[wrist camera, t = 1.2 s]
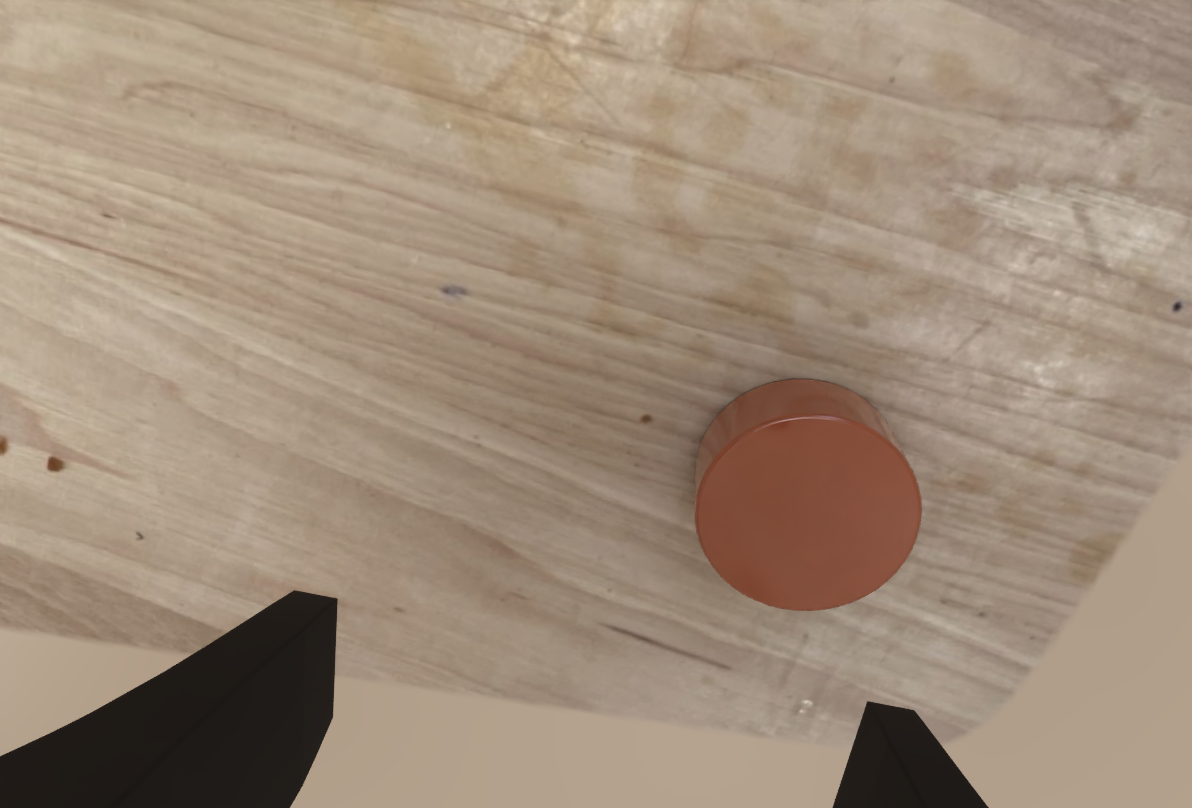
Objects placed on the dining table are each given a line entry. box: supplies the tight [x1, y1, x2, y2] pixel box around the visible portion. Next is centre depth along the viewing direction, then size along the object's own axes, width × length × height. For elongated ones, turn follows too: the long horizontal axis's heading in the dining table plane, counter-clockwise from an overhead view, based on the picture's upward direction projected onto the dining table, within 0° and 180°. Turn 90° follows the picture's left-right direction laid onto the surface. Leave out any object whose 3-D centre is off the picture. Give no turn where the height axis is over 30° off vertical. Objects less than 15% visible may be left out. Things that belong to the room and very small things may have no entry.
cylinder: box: [695, 379, 922, 611], centre depth 19 cm, size 5×5×2 cm
